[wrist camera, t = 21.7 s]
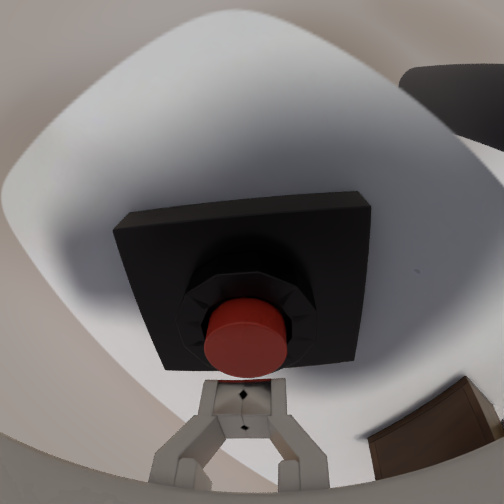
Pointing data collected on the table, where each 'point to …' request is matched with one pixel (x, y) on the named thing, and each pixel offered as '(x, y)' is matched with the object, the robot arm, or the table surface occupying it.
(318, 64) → the table surface
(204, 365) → the button block
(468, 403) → the hatch box
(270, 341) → the button
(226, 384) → the robot arm
